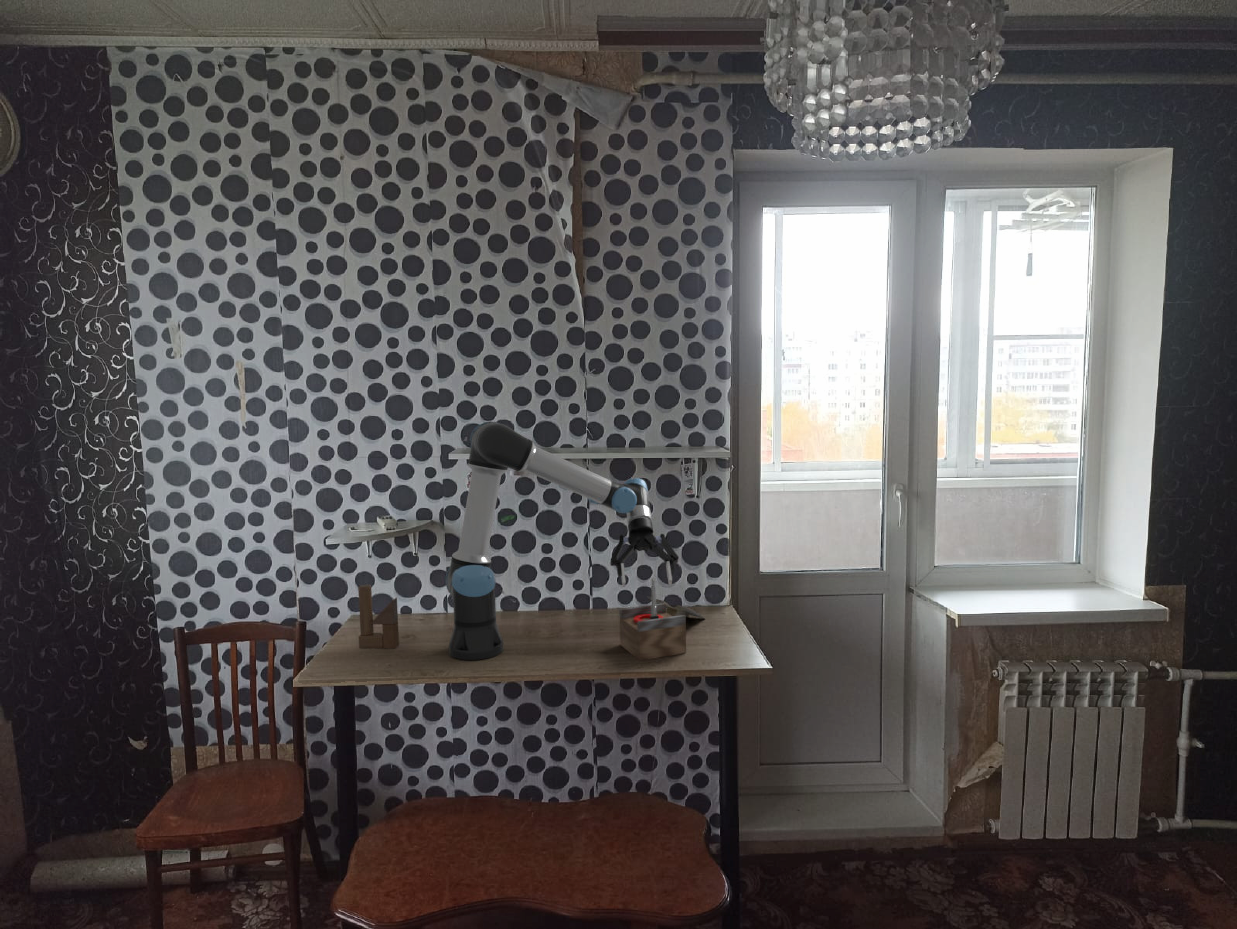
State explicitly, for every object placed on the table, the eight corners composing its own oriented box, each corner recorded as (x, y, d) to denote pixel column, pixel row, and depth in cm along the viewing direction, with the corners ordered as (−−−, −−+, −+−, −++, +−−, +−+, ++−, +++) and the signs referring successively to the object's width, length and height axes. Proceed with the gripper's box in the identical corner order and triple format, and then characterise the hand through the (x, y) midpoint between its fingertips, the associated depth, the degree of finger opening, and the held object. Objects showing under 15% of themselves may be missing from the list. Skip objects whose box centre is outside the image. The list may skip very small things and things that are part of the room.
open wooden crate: (639, 660, 213) (639, 622, 212) (620, 644, 226) (619, 609, 224) (686, 653, 218) (685, 616, 217) (664, 638, 231) (664, 603, 230)
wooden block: (395, 649, 226) (392, 587, 224) (358, 648, 227) (355, 587, 225) (399, 644, 229) (396, 584, 228) (363, 644, 230) (360, 584, 228)
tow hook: (629, 620, 224) (641, 627, 215) (628, 575, 223) (639, 580, 214) (656, 616, 226) (669, 624, 218) (655, 572, 226) (668, 578, 217)
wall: (648, 629, 252) (637, 609, 240) (658, 605, 256) (648, 584, 244) (696, 644, 245) (687, 624, 233) (705, 619, 249) (697, 598, 237)
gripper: (678, 528, 246) (688, 588, 233) (598, 531, 244) (603, 592, 230) (681, 515, 240) (691, 575, 227) (599, 517, 238) (605, 579, 224)
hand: (647, 583), depth 229 cm, fingers open, 13 cm apart
